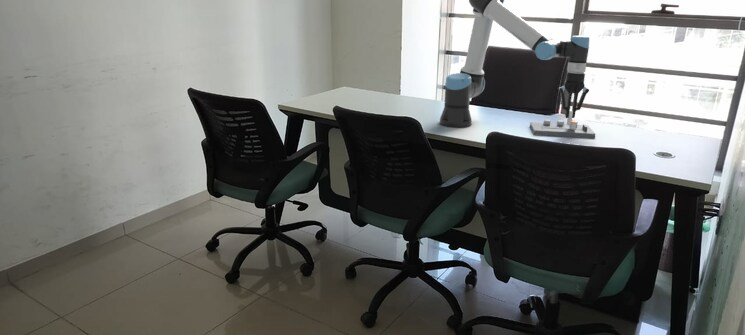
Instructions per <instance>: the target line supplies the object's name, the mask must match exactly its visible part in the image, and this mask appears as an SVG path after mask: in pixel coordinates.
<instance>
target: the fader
mask: <svg viewBox="0 0 745 335" xmlns="http://www.w3.org/2000/svg"><path fill="white" fill-rule="evenodd" d="M577 122H578V121H576V119H574V120H573V119H572V123H571V126H570V129H572V130H576V124H577V125H578V123H577Z"/></svg>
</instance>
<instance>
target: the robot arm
mask: <svg viewBox="0 0 745 335" xmlns="http://www.w3.org/2000/svg"><path fill="white" fill-rule="evenodd" d="M504 2H505V0H468V3H469V5H470V6H471V7H472V8H473V9H472V12H473V14H474V20H473V25H472V29H471V35H470V38H469V44H468V49H467V54H466V58H465V63H464V65H463V67H461V68H460V71H459V73H451V74H448V75H447V77H446V78H445V82H444V83H445V86H444V89H445V90H444V104H443V105H444V107H443V110H442V113H441V115H440V118H439V124H440V125H441V126H444V127H449V128H466V127H467V128H468V127H470V126H472V121H473V120H472V116H471V112H470V102H471V101H470V99H472V98H476V97H478V96H480V95H481V94H482V93H483V91H484V90H485V86H486V80H485V71H484V63H485V57H486V53H487V49H488V46H489V45H488V44H489V39H490V35H491V31H492V27H493V22H495V23H496V24H498V25H499V26H500V27H502V28H503V29H504V30H505V31H506V32H508V33H510V34H511V35H512V36H513V37H515V38H516V39H517V40H518V41H519V42H521V43H522V44H524V45H525V46H526V47H527V48H529V49H530V50H532V51H533V52H534V54H535V56H536V58H537V59H540V60H541V61H547V60H548V61H549V60H552V59H554V58H566V59H567V58H568V59H567V60H568V62H567V68H566V70H567V73H566V76H565V82H564V83H563V85H562V86H559V87H558V90H559V92H560V94H559V95H560V102H561V107H562V109H563V110H565V116H564V117H565V118H566V124H567V125H568V126H571V123H572V120H573V119H575V117H576V111H580V110H581V109H582V105H583V104H584V101H585V99H586V96H587V94H588V93H589V92H590V89H589V88H588V87H586V86H585V76H586V74H585V72H586V70H587V69H586V68H587V63H588V62H587V61H588V55H589V49H590V37H589V36H586V35H572V36H571V37H570V39H558V38H554V39H553V38H548V37H546V36H545V35H544V34H542V32H540V31H539V30H537V29H536V28H535V27H534V26H532V25H531V24H530V23H528V22H527V21H526V20H524V19H523V18H522V17H521V16H519V15H518V14H517V13H515V12H514V11H512V9H510V8H509V7H507V6H506V5H505V4H504ZM565 90H566V92H567V100H566V97H565ZM579 93H581V95H580V98H579ZM572 96H573V97H572ZM572 98H573V102H572ZM578 98H579V100H578ZM571 105H572V108H571Z"/></svg>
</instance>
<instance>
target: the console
mask: <svg viewBox="0 0 745 335" xmlns="http://www.w3.org/2000/svg"><path fill="white" fill-rule="evenodd" d="M576 122H577V124H576V130H572V129H570V126H568V125H567V123H565V121H564V120H557V121H556V123H552V122H551V120H550V119H543V122H532V121H531V122H529V127H530V130H531V131H532V134H533V135H534V136H550V137H551V136H552V137H568V138H569V137H570V138H581V139H582V138H583V139H584V138H586V139H587V138H588V139H595V138H596V132H594V131H593V130H592V128H591V127H590V126H589V125H588V124H578V121H576Z"/></svg>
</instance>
